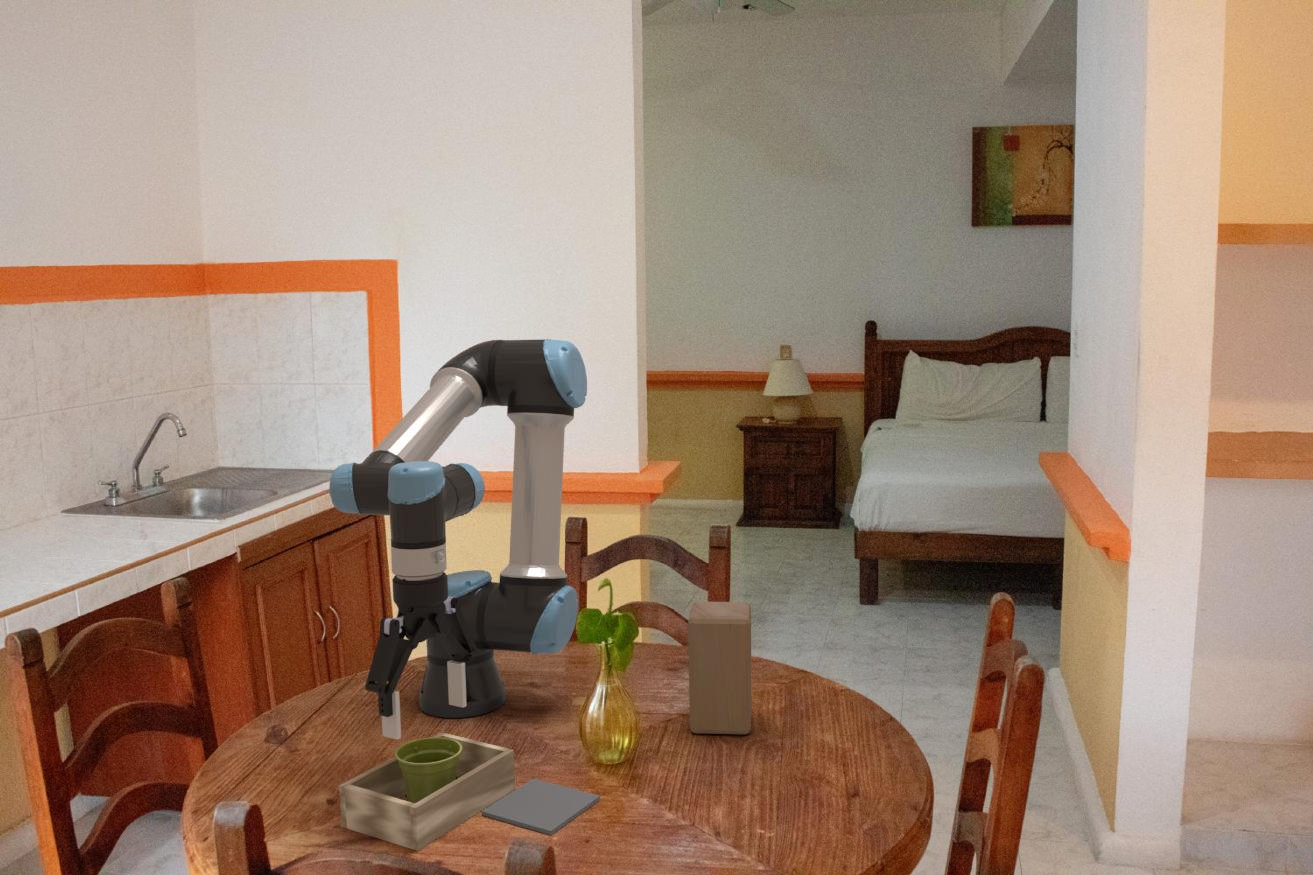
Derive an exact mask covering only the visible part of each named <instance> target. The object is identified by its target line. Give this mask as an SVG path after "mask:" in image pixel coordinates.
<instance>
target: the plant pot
mask: <svg viewBox="0 0 1313 875" xmlns="http://www.w3.org/2000/svg"><path fill="white" fill-rule="evenodd" d="M461 752H462V745H461V744H460V743H459V742H458V741H456V740H453V739H450V738H442V737H433V736H431V737H425V738H423V737H422V738H417V739H414V740H411V741H407V742H405V743H404V744H401V745H399V747H397V748H396V749H395V751H394V757H395V758H396V759H397V760H398V762H399V766H400V768H401V769H402V774H403V778H404V783H405V787H406V792H407V794H406V797H407V801H408V802H412V803H417V802H419V801H420V800H422V799H424V798H425V797H427V796H429V795H431V794H432V793H434V792H436V791H437V790H439V789H441V788H443V787H444V786H446V785H448V784H449V783H451V782H453V781H454V780H456V778H457V777H456V767H457V762H458V760H459V755H460V753H461Z"/></svg>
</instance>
